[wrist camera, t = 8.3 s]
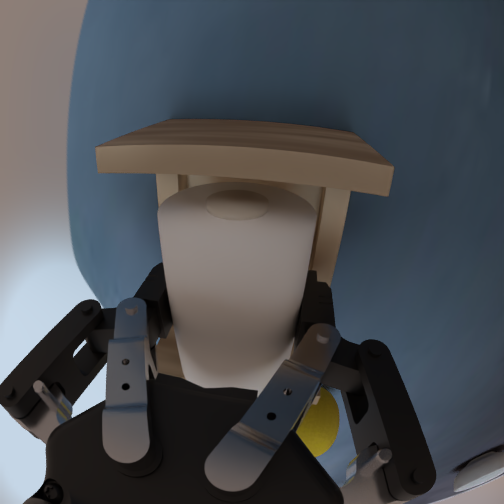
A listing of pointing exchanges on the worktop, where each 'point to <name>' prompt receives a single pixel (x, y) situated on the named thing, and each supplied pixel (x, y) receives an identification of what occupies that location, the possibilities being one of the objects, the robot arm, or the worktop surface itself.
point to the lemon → (320, 424)
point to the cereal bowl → (480, 470)
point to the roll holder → (254, 175)
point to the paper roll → (235, 278)
